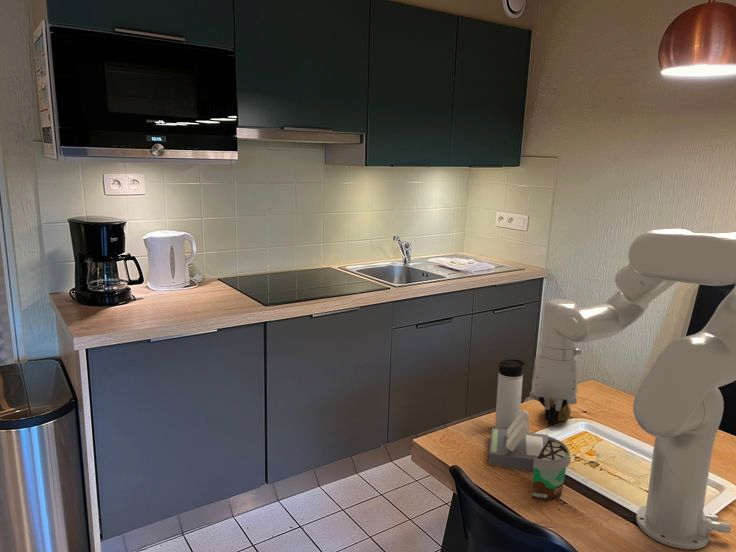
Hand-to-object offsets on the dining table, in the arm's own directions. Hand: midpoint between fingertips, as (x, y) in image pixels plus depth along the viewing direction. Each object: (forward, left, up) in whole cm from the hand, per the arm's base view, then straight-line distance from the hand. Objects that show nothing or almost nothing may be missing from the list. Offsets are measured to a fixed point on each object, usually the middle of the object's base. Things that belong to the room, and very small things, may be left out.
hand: (550, 423), depth 132 cm
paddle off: (+10, +6, -5) cm, 13 cm away
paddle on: (+10, 0, -5) cm, 11 cm away
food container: (0, +16, -9) cm, 18 cm away
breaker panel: (+7, +1, -9) cm, 11 cm away
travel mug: (+10, -11, -9) cm, 17 cm away
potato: (-4, -22, -9) cm, 24 cm away
